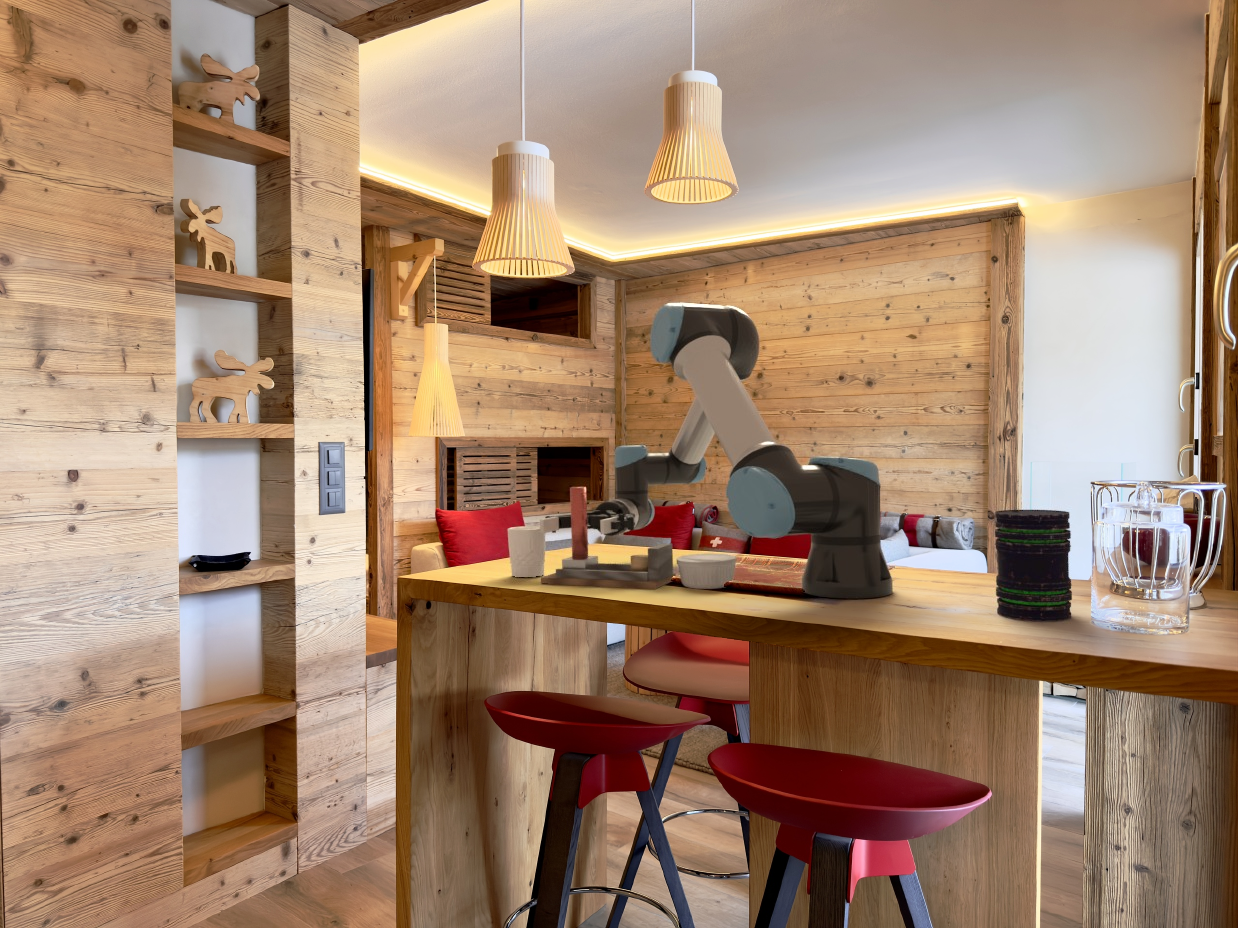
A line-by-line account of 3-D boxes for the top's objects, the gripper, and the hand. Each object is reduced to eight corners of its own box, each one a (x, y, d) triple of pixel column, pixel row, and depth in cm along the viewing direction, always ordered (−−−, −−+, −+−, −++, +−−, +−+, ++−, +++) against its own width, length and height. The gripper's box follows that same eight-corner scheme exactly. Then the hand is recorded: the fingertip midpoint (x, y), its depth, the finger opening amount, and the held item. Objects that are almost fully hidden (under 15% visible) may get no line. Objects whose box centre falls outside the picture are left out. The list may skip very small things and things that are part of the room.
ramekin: (676, 590, 146) (675, 561, 146) (678, 580, 157) (677, 553, 157) (738, 590, 145) (737, 560, 144) (736, 580, 156) (735, 552, 156)
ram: (598, 571, 161) (596, 486, 161) (585, 575, 156) (582, 488, 156) (576, 570, 163) (573, 486, 163) (562, 574, 158) (559, 488, 158)
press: (675, 579, 158) (674, 542, 157) (656, 588, 147) (654, 549, 147) (566, 575, 167) (565, 540, 167) (540, 583, 157) (539, 546, 157)
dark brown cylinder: (1089, 617, 114) (1087, 512, 114) (1036, 624, 111) (1034, 516, 111) (1030, 605, 124) (1028, 508, 123) (981, 611, 120) (978, 511, 120)
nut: (651, 578, 152) (650, 557, 152) (630, 578, 153) (629, 557, 153) (652, 574, 156) (652, 554, 156) (632, 575, 157) (631, 554, 157)
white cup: (550, 572, 171) (548, 525, 171) (542, 578, 164) (541, 529, 163) (513, 573, 172) (512, 526, 172) (504, 578, 164) (503, 530, 164)
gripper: (668, 535, 171) (630, 547, 151) (565, 533, 181) (517, 544, 161) (667, 499, 171) (629, 507, 151) (564, 500, 181) (515, 507, 161)
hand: (571, 526), depth 156 cm, fingers open, 12 cm apart
